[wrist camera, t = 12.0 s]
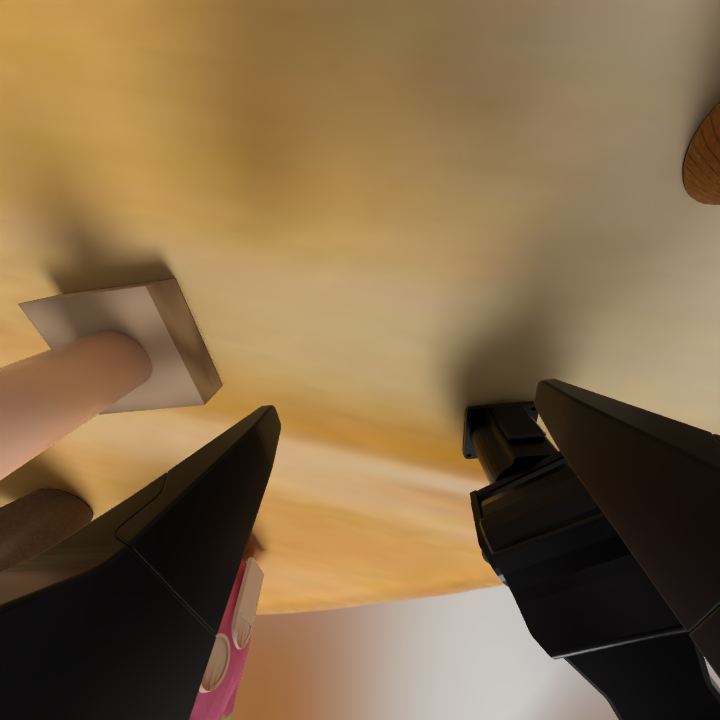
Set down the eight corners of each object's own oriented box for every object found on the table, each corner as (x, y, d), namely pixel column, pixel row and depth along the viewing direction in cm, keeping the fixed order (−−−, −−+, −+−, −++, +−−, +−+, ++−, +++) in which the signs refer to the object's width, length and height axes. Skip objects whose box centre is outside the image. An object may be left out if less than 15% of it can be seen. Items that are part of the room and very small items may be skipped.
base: (222, 385, 25) (204, 404, 22) (127, 394, 26) (99, 414, 23) (175, 278, 20) (145, 286, 18) (62, 294, 21) (17, 303, 18)
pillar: (163, 362, 20) (-115, 539, 9) (134, 395, 22) (-134, 584, 10) (103, 317, 19) (-333, 459, 7) (77, 356, 20) (-319, 526, 9)
